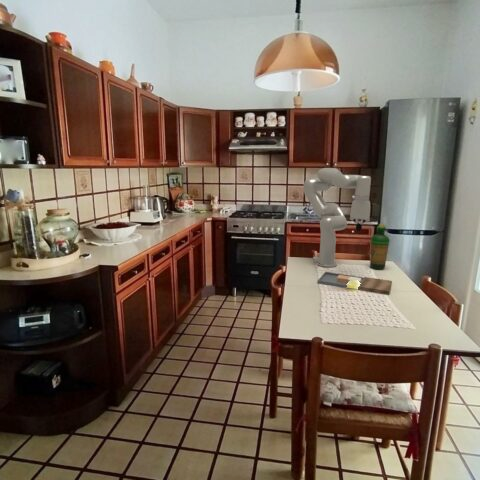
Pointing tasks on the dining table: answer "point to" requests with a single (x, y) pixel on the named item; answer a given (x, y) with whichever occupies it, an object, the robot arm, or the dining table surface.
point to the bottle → (379, 248)
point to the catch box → (334, 280)
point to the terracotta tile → (343, 279)
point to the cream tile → (354, 278)
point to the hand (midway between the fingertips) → (358, 230)
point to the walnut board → (376, 285)
